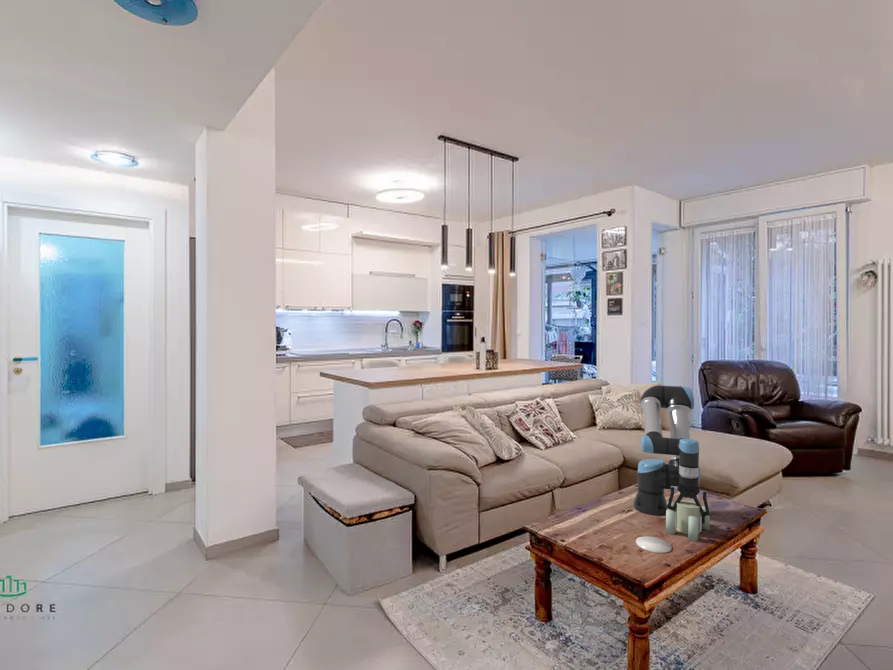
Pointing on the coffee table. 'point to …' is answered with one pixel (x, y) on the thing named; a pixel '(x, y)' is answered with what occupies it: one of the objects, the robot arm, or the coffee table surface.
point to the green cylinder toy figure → (686, 515)
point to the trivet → (653, 544)
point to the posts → (691, 523)
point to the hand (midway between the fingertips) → (687, 528)
